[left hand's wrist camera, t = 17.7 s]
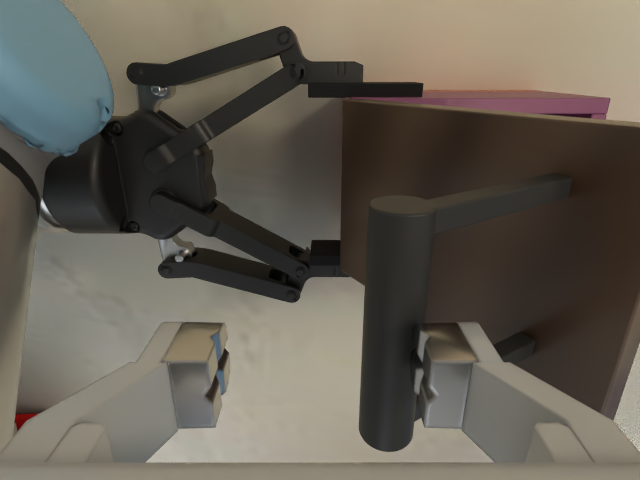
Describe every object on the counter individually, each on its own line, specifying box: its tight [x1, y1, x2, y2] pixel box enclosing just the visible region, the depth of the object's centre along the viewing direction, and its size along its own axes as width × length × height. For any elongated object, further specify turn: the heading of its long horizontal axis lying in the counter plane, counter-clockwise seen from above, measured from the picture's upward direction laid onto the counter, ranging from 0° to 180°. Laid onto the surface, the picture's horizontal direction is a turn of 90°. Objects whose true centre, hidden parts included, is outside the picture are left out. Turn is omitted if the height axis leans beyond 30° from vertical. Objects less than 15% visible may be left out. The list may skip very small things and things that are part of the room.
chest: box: [345, 90, 610, 120], centre depth 29 cm, size 14×10×9 cm
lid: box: [340, 99, 640, 452], centre depth 17 cm, size 15×10×9 cm
